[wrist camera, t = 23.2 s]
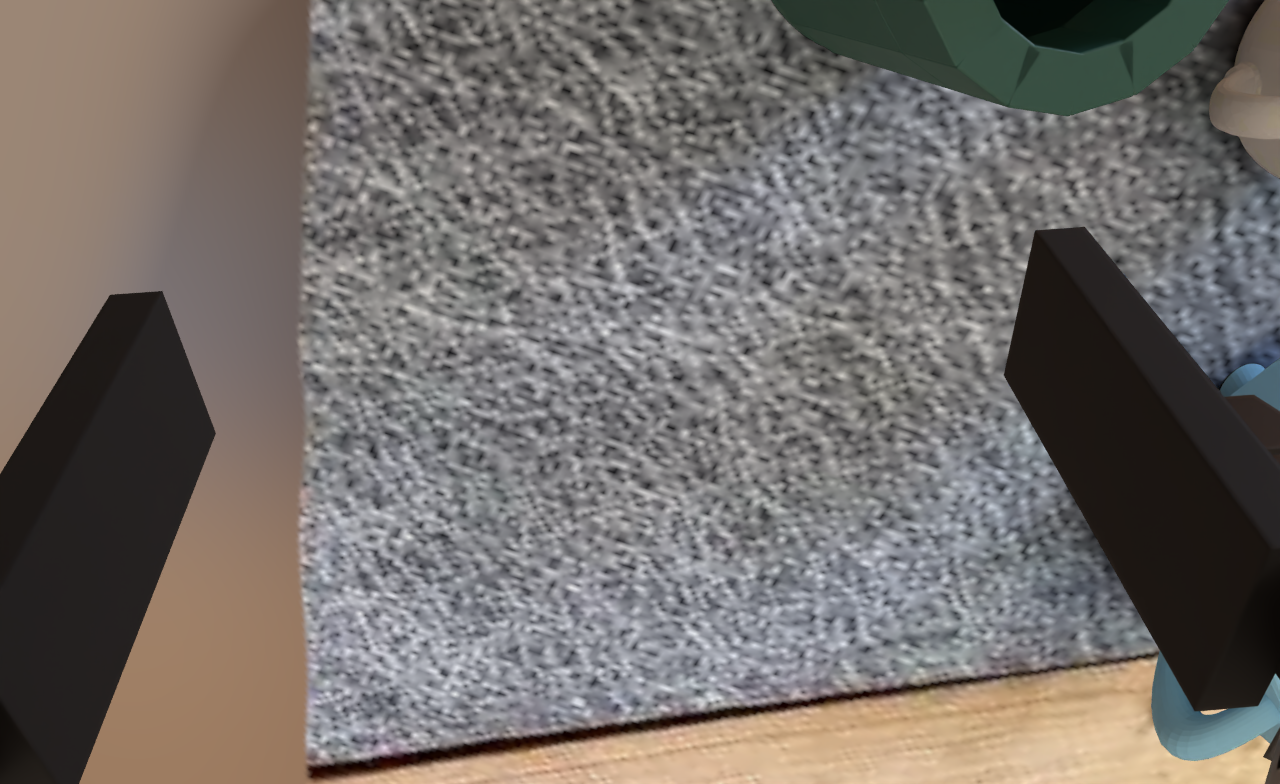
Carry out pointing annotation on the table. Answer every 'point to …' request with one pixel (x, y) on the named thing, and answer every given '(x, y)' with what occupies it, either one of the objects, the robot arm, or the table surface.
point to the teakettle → (1170, 706)
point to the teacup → (1254, 90)
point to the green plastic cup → (1014, 44)
